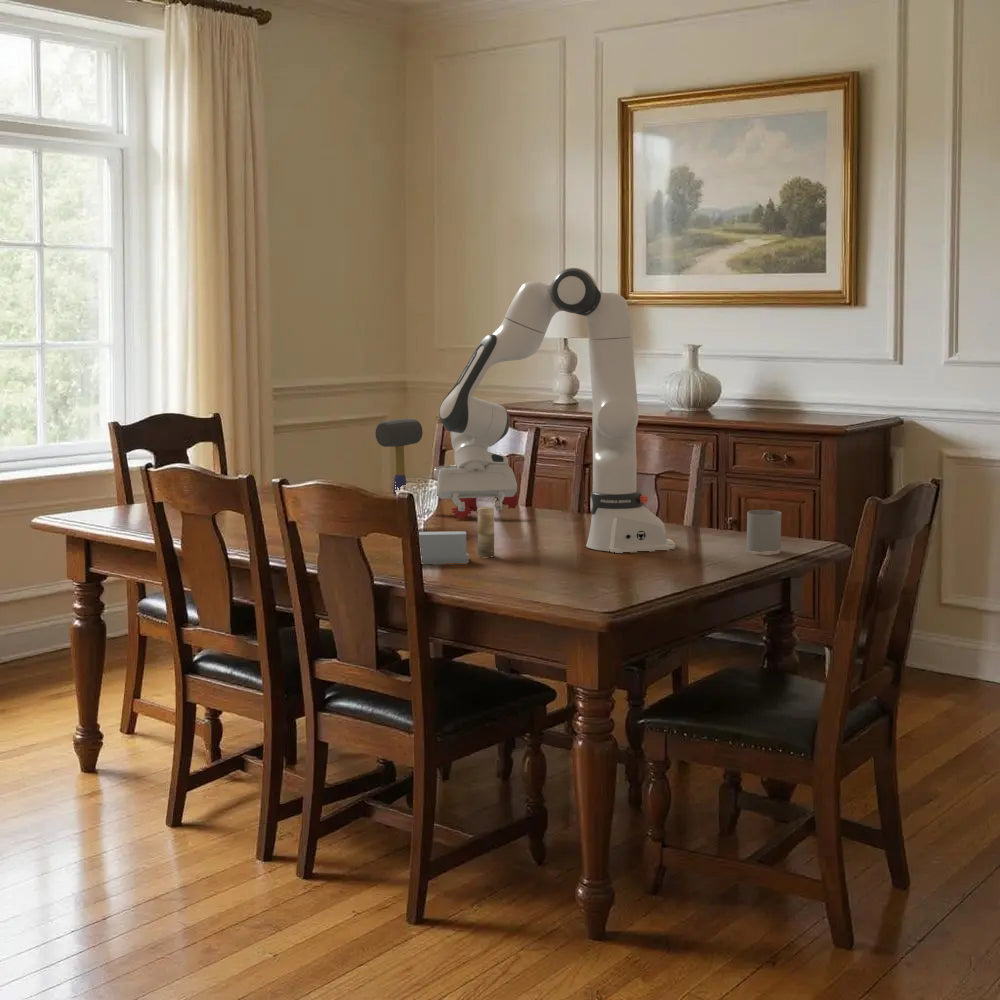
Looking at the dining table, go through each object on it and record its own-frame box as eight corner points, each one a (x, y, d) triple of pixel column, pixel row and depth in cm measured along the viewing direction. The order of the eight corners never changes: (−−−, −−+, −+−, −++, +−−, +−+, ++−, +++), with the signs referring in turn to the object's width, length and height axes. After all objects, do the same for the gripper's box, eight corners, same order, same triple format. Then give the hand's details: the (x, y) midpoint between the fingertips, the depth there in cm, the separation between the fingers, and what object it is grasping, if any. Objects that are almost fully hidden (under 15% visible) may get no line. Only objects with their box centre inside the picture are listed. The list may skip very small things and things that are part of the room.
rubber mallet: (393, 531, 379) (391, 421, 375) (374, 528, 384) (372, 419, 380) (426, 525, 388) (424, 418, 384) (408, 522, 393) (406, 416, 389)
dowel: (493, 554, 345) (493, 506, 343) (494, 557, 341) (494, 509, 339) (477, 554, 345) (477, 507, 343) (478, 557, 341) (477, 509, 339)
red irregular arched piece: (512, 536, 396) (525, 492, 404) (502, 517, 389) (516, 474, 396) (423, 529, 407) (438, 487, 415) (412, 511, 400) (428, 469, 408)
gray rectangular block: (468, 558, 340) (467, 530, 339) (468, 563, 333) (468, 535, 332) (406, 559, 340) (406, 531, 338) (406, 564, 333) (405, 536, 332)
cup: (784, 550, 348) (785, 511, 347) (776, 556, 341) (777, 516, 339) (751, 548, 352) (751, 509, 350) (742, 553, 344) (743, 513, 343)
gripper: (434, 458, 350) (440, 502, 342) (513, 456, 354) (522, 500, 346) (431, 474, 355) (437, 518, 347) (509, 472, 359) (517, 515, 351)
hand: (480, 509), depth 346 cm, fingers open, 8 cm apart
